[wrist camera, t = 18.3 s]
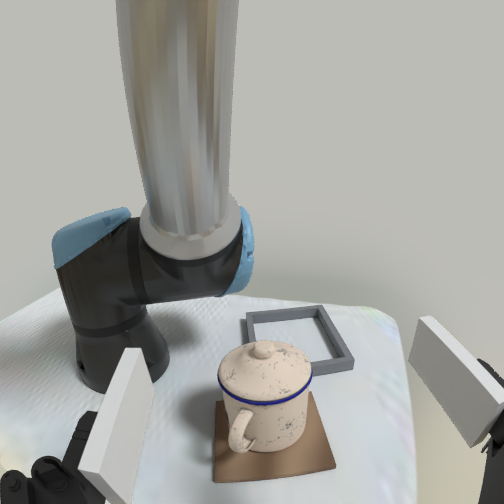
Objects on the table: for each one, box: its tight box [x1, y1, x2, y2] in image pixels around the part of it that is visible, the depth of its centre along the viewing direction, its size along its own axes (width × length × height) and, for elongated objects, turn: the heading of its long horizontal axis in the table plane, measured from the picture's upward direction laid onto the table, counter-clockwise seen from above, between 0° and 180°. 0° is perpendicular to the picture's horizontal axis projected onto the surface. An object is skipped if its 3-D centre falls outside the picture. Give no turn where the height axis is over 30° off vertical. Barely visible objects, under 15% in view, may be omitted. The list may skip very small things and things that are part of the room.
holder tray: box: [246, 305, 354, 376], centre depth 46 cm, size 14×17×2 cm
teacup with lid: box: [217, 340, 313, 453], centre depth 27 cm, size 12×9×12 cm
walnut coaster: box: [215, 391, 336, 483], centre depth 29 cm, size 12×12×1 cm
